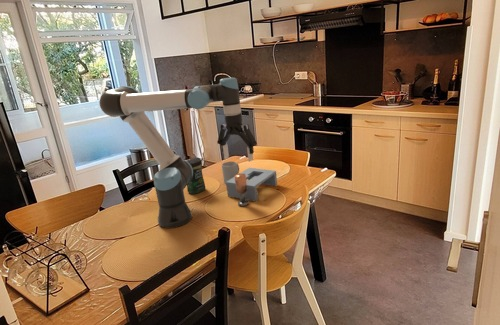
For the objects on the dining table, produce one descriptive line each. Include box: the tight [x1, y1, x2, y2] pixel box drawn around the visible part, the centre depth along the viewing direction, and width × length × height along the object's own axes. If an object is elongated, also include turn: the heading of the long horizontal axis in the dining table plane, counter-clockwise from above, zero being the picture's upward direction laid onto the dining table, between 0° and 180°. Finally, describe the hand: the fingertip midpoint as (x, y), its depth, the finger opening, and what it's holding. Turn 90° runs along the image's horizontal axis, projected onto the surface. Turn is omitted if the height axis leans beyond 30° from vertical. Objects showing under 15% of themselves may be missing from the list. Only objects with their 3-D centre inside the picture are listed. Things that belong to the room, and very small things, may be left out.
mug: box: [221, 160, 240, 185], centre depth 191 cm, size 12×8×11 cm
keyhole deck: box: [225, 167, 278, 202], centre depth 175 cm, size 22×17×8 cm
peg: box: [235, 172, 250, 208], centre depth 159 cm, size 5×5×15 cm
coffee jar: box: [186, 156, 206, 195], centre depth 181 cm, size 10×8×19 cm
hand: (238, 159), depth 154 cm, fingers open, 13 cm apart
